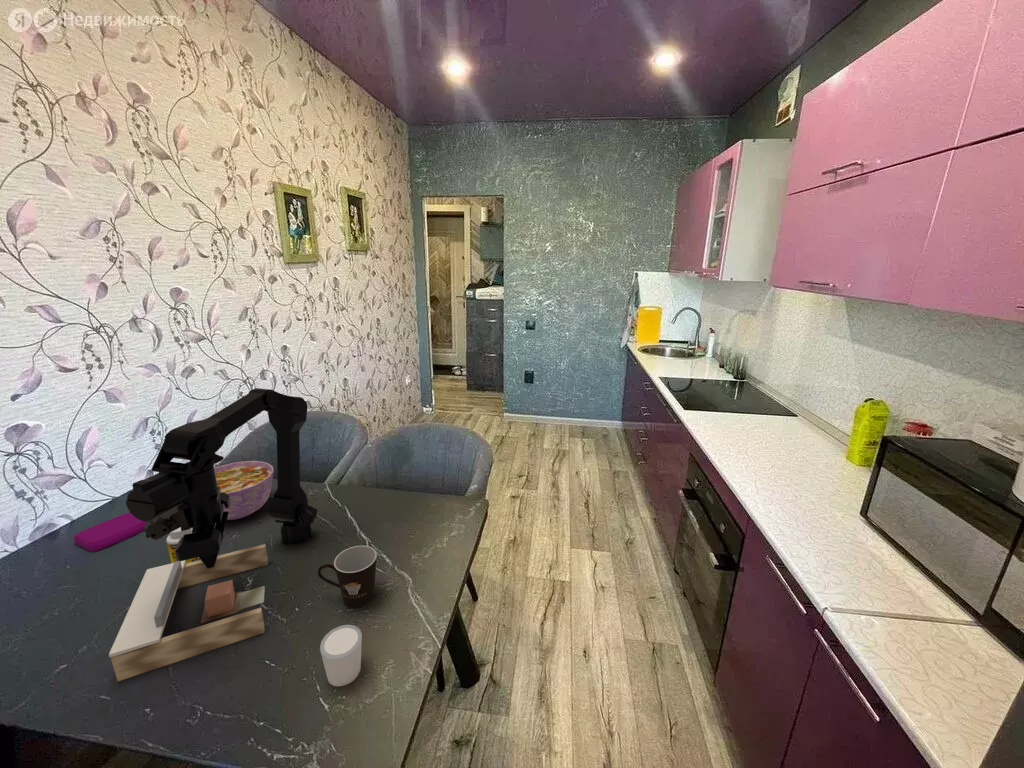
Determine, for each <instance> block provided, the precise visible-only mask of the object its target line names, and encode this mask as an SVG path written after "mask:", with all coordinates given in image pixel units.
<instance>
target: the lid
mask: <svg viewBox="0 0 1024 768" xmlns="http://www.w3.org/2000/svg"><path fill="white" fill-rule="evenodd" d="M185 563H186V561H185V560H184V561H177V562H174V563H171V562H170V563H168V564H164V565H160V566H155V567H151V568H147V569H146V571H145V573H144V575H143V578H142V580H141V582H140V584H139V585H138V586H139V587H138V589H137V590H136V593H135V595H134V597H133V600H132V603H131V604H130V607H129V608H128V611H127V613H126V616H125V617H124V619H123V622H122V625H121V626H120V629H119V630H118V633H117V636H116V638H115V640H114V642H113V643H112V647H111V648H110V651H109V654H108V657H109V658H111V657H113V656H116V655H119V654H123V653H126V652H129V651H132V650H136V649H139V648H142V647H145V646H148V645H152V644H155V643H158V642H160V639H161V638H162V636H163V633H164V630H165V627H166V624H167V620H168V617H169V615H170V612H171V608H172V606H173V603H174V602H173V601H174V600H175V597H176V594H177V591H178V589H177V588H178V585H179V582H180V579H181V575H182V572H183V569H184V566H185Z"/></svg>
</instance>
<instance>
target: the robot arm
mask: <svg viewBox="0 0 1024 768" xmlns="http://www.w3.org/2000/svg"><path fill="white" fill-rule="evenodd" d="M264 411H265V412H267V417H268V422H269V423H270V425H271V426H272V428H273V429H274V431H275V433H276V434H275V435H276V468H277V469H276V471H277V472H276V478H277V487H276V489H275V491H274V493H273V495H272V496H269V498H268V499H267V505H268V506H267V507H268V508H267V513H269V516H270V518H271V519H273V520H274V522H275V523H277V524H278V523H280V524H282V525H281V526H280V535H281V541H282V545H299V544H302V543H305V542H307V541H308V540H310V539H312V538H313V534H312V531H313V529H312V525H311V524H313V523H314V522H315V519H316V518H317V515H318V509H317V508H316V507H313V506H310V505H309V501H308V496H307V494H306V492H305V491H304V489H303V487H302V486H301V471H300V470H301V468H300V467H301V465H300V464H301V461H300V460H301V458H300V457H301V456H300V453H301V452H300V451H301V449H300V431H301V429H302V428H303V426H304V425H305V423H306V421H307V416H308V402H307V401H306V400H305V399H304V398H303V397H300V396H292V395H287V394H284V393H280V392H278V391H276V390H273V389H271V388H269V389H268V388H257V387H256V388H253V389H250V390H249V391H248V393H247V394H244V395H243V396H242V397H240V398H239V399H237V400H235V401H234V402H231V403H230V404H228V405H227V406H225V407H224V408H222V409H220V410H219V411H217V412H216V413H214V414H211V416H209V417H206V418H204V419H200V420H196V421H190V422H186V423H185V424H182V425H180V426H177V427H175V428H172V429H170V430H169V431H168V432H167V433H166V434H165V435H164V440H163V443H162V445H161V447H160V449H159V451H158V454H157V456H156V458H155V461H154V462H153V465H152V467H151V472H155V473H156V474H154V475H151V476H149V477H147V478H143V479H139V480H138V481H135V482H134V483H132V485H131V487H132V489H133V490H131V491H130V492H128V494H127V496H126V500H125V504H126V508H127V510H128V511H129V512H130V513H131V514H132V515H133V516H134V517H135V518H137V519H139V520H141V521H147V523H146V524H145V526H144V528H145V530H143V532H145V538H147V539H151V540H155V541H158V540H161V539H162V538H163V537H165V536H167V535H169V533H170V532H172V531H174V530H176V529H178V528H180V527H181V531H184V530H189V529H190V528H192V532H191V534H186V535H184V536H183V537H182V538H181V539H180V540H179V542H178V545H177V547H176V550H175V554H176V558H177V561H184V560H188V559H192V558H196V557H199V558H200V559H199V560H201V561H202V562H203V563H204V565H205V566H206V567H207V568H213V567H214V566H215V563H216V559H217V556H219V553H220V550H221V546H222V544H223V540H224V532H225V528H226V524H227V521H228V520H227V518H228V513H229V512H223V511H224V506H223V505H221V504H224V505H225V508H226V509H228V508H229V507H230V503H231V502H230V496H229V495H228V494H226V493H224V492H222V493H220V492H221V489H220V487H218V486H217V480H216V475H215V469H214V468H215V464H216V465H217V463H219V462H222V461H223V460H224V459H225V458H224V456H223V455H219V454H216V453H217V452H218V451H219V450H220V449H221V448H222V447H223V445H224V443H225V441H226V438H227V437H228V436H229V435H230V434H232V433H233V432H235V431H236V430H238V429H239V428H240V427H242V426H243V425H245V424H246V423H247V422H249V421H251V420H252V419H254V418H255V417H257V416H259V414H261V413H262V412H264ZM174 459H178V460H185V461H187V462H176V461H172V460H174Z"/></svg>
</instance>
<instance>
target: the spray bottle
mask: <svg viewBox="0 0 1024 768" xmlns="http://www.w3.org/2000/svg"><path fill="white" fill-rule="evenodd" d="M146 523H147V521H141V520H139V519H137V518H135V517H134V516H133V515H132V514H131V513H130V511H129V512H126V513H123V514H120V515H117V516H115V517H113V518H110V519H108V520H104V521H102V522H100V523H97V524H95V525H92V526H91V527H87V528H86V529H83V530H82V531H79V532H77V533H76V534H75V535H74V536H73V540H74V544H75V545H77V546H79V547H81V548H83V549H84V550H86V551H89V552H94V553H95V552H99V551H101V550H104V549H107V548H108V547H111V546H113V545H116V544H119V543H121V542H122V541H125V540H128V539H129V538H131V537H134V536H136V535H137V534H140V533H142V532H144V530H145V528H144V526H145V524H146Z"/></svg>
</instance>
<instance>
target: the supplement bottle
mask: <svg viewBox="0 0 1024 768" xmlns="http://www.w3.org/2000/svg"><path fill="white" fill-rule="evenodd" d="M192 529H193V528H190V529H189V530H184V531H181V527H180V528H178V529H176V530H174V531H172V532H170V533H169V534H168V536H167V538H166V546H167V550H168V555H169V558H170V559H169V560H170V564H171V563H174V562H177V558H176V554H175V550H176V547H177V545H178V542H179V540H180V539H181V538H182V537H183V536H184V535H186V534H191V532H192ZM198 560H201V559H200V558H199V557H196V558H192V559H188V560H185V561H186V563H190V562H194V561H198ZM186 563H185V564H186Z"/></svg>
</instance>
